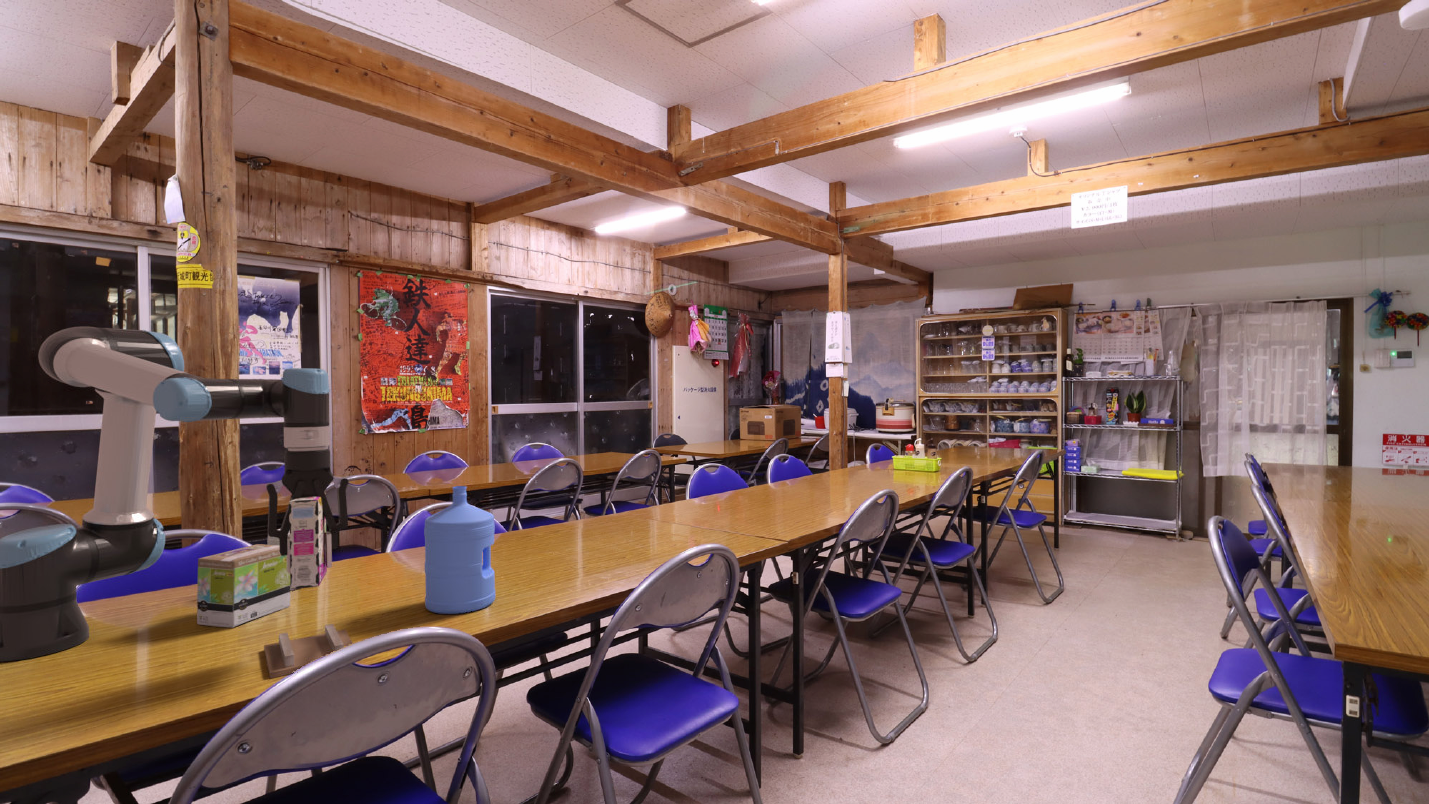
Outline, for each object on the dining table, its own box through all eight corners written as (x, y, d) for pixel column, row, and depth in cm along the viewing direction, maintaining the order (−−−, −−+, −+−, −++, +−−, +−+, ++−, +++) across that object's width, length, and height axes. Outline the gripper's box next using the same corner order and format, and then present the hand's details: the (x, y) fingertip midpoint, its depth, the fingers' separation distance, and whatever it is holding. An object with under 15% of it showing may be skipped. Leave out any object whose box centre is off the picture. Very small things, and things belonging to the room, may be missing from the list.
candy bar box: (321, 587, 123) (318, 499, 123) (289, 590, 121) (286, 501, 121) (328, 572, 134) (326, 491, 133) (300, 575, 132) (297, 493, 131)
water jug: (438, 620, 146) (437, 494, 146) (416, 603, 158) (414, 486, 158) (506, 605, 157) (505, 487, 156) (480, 590, 168) (479, 480, 168)
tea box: (234, 629, 142) (233, 560, 142) (196, 625, 144) (194, 558, 144) (292, 606, 157) (291, 544, 156) (256, 603, 159) (255, 542, 158)
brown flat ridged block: (269, 678, 117) (269, 661, 117) (264, 650, 130) (264, 635, 130) (358, 658, 126) (358, 643, 126) (345, 634, 138) (344, 619, 138)
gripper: (248, 453, 118) (251, 582, 119) (365, 447, 130) (367, 564, 130) (247, 450, 124) (249, 573, 125) (358, 444, 136) (360, 557, 136)
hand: (309, 568), depth 127 cm, fingers closed on candy bar box, 6 cm apart
